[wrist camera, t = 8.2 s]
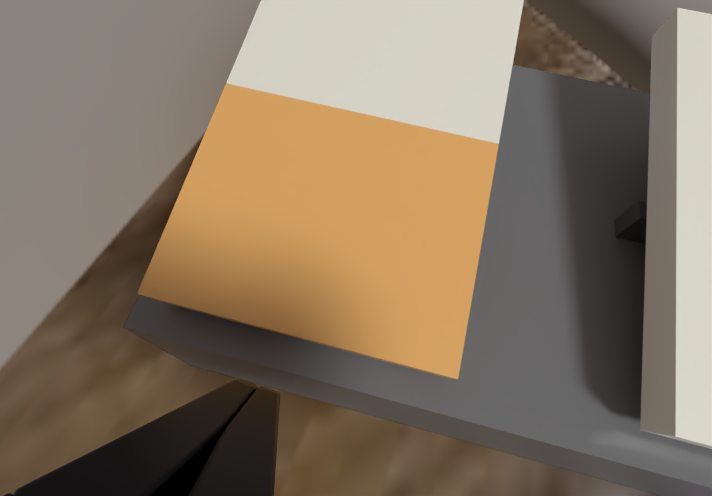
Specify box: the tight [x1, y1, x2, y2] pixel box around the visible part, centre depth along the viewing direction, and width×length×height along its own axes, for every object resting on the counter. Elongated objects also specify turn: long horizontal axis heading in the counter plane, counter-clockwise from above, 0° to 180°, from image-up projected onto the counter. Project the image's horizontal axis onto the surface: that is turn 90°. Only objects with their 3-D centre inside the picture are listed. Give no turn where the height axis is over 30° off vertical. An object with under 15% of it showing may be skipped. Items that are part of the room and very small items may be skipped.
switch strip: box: [123, 65, 712, 496], centre depth 19 cm, size 18×28×8 cm, turn 76°
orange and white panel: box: [137, 0, 524, 379], centre depth 15 cm, size 16×10×1 cm, turn 166°
